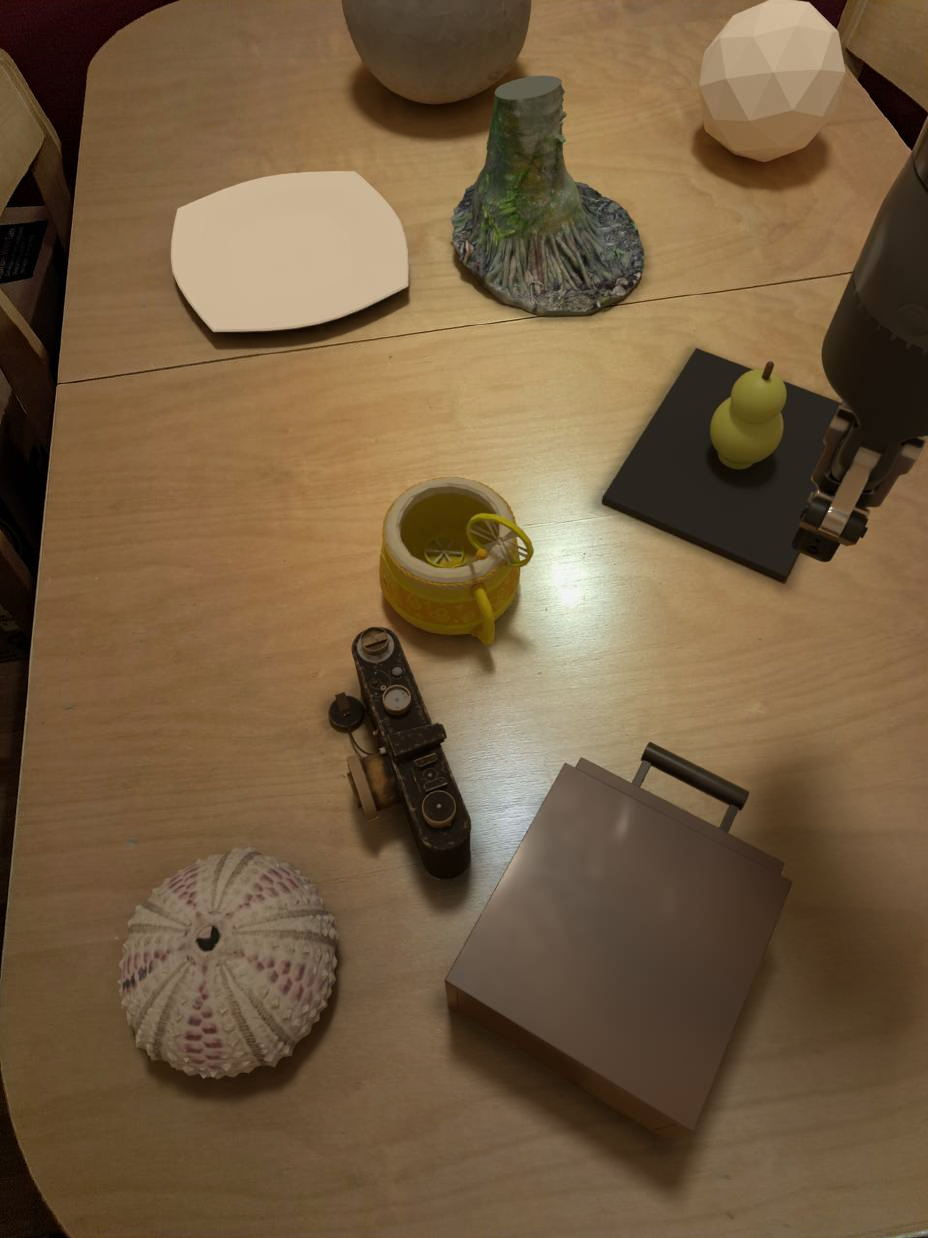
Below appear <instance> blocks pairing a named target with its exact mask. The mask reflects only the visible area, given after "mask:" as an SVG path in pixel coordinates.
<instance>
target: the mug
mask: <svg viewBox="0 0 928 1238" xmlns="http://www.w3.org/2000/svg"><path fill="white" fill-rule="evenodd" d="M514 515H515V514H514V511H512V508H511V506H510V505H509V503H508V502H507V500H505V498H504V497H503V496H501V495H500V493H498V492H497V491H495V490H494V489H493V488H491V487H490V486H488V485H486V484H484V483H483V482H480V481H477V480H473V479H468V478H465V477H457V476H440V477H436V478H432V479H428V480H425V481H424V480H423V481H422V482H419V483H417V484H413V485H412V486H410V487H408V488H406V490H405V491H403V492H402V493H401V494H400V495H398V497H397V498H396V499H394V501H393V502H392V503H391V504H390V506H389V507H388V509H387V511H386V513H385V515H384V519H383V522H382V529H381V531H382V532H381V537H382V545H381V551H380V555H379V570H378V572H379V573H378V574H379V576H378V577H379V585H380V590H381V592H382V593H381V594H382V595H383V597H384V600H386V602H387V603H389V605H390V606H391V607H392V609H393V610H394V611H395V612H396V613H397V614H399V615H400V617H401V618H403V619H404V620H405V621H406V622H408V623H410V624H411V625H412V626H414V627H416V628H418V629H420V630H422V631H425V632H428V633H430V634H431V633H432V634H438V635H446V636H458V635H470V636H472V637H475V638H476V637H477V638H478V639H479V641H480V642H481V643H482V644H483V645H485V646H486V645H492V644H493V643H494V641H495V635H496V627H495V621H497V620H498V619H499V618H501V616H502V615H503V614H504V613H505V612H506V610H507V609H508V608H509V607H510V606H511V604H512V602H513V600H514V598H515V597H516V595H517V592H518V588H519V585H520V578H521V568H522V567H525V566H527V565H528V564H529V563H530V562H531V560H532V557H533V556H534V551H535V550H534V547H533V542H532V541H531V539H530V538H529V536H528V535H527V534H526V532H525V531H524V530H523V528H521V527H520V526H519V525H517V522H516V518H515V516H514ZM518 538H519V539H520V540H521V541H522V543H523V544H524V546H525V547H523V546H520V545H519V543H518ZM520 550H521V551H523V552H525V553H523V552H521V551H520ZM520 556H521V557H522V558H524V559H521V558H520Z"/></svg>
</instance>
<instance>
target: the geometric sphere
mask: <svg viewBox="0 0 928 1238" xmlns="http://www.w3.org/2000/svg"><path fill="white" fill-rule="evenodd" d="M845 77H846V67H845V61H844V56H843V50H842V43H841V39H840V33H839V31H838V29H837V28H836V27H835V26H834V25H832V23H830V21H828V19H826V17H824V16H823V15H822V14H821V12H819V10H817V8H815V6H814V5H812V4H811V2H810V1H803V0H766V1H764V2H761V3H758V4H757V5H754V6H752V7H750V8H747V9H745V10H743V11H740V12H737V13H735V14H733V15H732V16H731V17H730V19H729V20H728V21H727V23H726V24H725V25H724V26H723V28H722V29H721V30H720V31H719V33H718V34H717V35H716V37H715V38H714V39H713V40H712V42H711V43H710V44H709V45H708V46H707V48H706V49H705V51H703V58H702V63H701V69H700V75H699V81H698V92H699V100H700V108H701V113H702V122H703V127H704V131H705V133H707V134H709V135H710V136H711V137H712V138H713V139H714V140H716V141H717V142H718V143H719V144H721V145H722V146H723V147H725V149H727V150H728V151H729V152H730V153H731V154H732V155H735V156H738V157H742V158H746V159H751V160H755V161H759V162H761V163H762V162H763V163H767V162H769V161H773V160H775V159H778V158H780V157H783V156H785V155H788V154H791V153H794V152H797V151H799V150H802V149H805V148H806V147H807V146H808V144H810V142H811V141H812V140H813V139H814V138H815V137H816V135H818V133H819V132H820V131H821V130H822V128H823V127H824V126H825V125H826V124H827V123H828V122H829V121H830V120H831V119H832V118H833V116H834V115H835V114H836V111H837V108H838V103H839V100H840V95H841V92H842V87H843V84H844V80H845Z"/></svg>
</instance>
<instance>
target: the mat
mask: <svg viewBox="0 0 928 1238" xmlns="http://www.w3.org/2000/svg"><path fill="white" fill-rule="evenodd" d="M751 370H754V369H753V368H751V367H748V366H745V365H743V364H740V363H737V362H735V361H732V360H729V359H727V358H724V357H721V356H718V355H716V354H714V353H712V352H708V351H705V350H703V349H700V348H698V347H696V348H695V349H694V351H693V352H692V354H691V355H690V357H689V359H688V360H687V361H686V363H685V365H684V366H683V368H682V370H681V371H680V373H679V374H678V376H677V377H676V379H675V381H674V382H673V384H672V386H671V388H670V389H669V390H668V392H667V393H666V395H665V396H664V397H663V400H662V402H661V403H660V405H659V407H658V408H657V409H656V411H655V413H654V414H653V416H652V417H651V419H650V421H649V422H648V424H647V425H646V427H645V428H644V430H643V432H642V434H641V435H640V436H639V438H638V440H637V441H636V443H635V445H634V446H633V448H632V449H631V451H630V453H629V454H628V455H627V457H626V459H625V461H624V462H623V464H622V465H621V467H620V468H619V469H618V472H617V473H616V475H615V476H614V478H613V480H612V481H611V483H610V484H609V486H608V487H607V489H606V491H605V492H604V493H603V495H602V498H601V503H602V504H604V505H607V506H609V507H610V508H611V507H612V508H613V509H617V510H618V511H621V512H622V513H626V514H627V515H630V516H632V517H635V518H637V519H639V520H641V521H642V522H643V521H644V522H646V523H648V524H651V525H653V526H655V527H658V528H659V529H662V530H664V531H666V532H668V533H671V534H673V535H675V536H678V537H680V538H683V539H684V540H687V541H689V542H692V543H694V544H696V545H699V546H701V547H703V548H706V549H707V550H710V551H711V552H715V553H716V554H719V555H721V556H723V557H726V558H728V559H731V560H733V561H734V562H738V563H740V564H741V565H744V566H747V567H749V568H752V569H754V570H756V571H758V572H760V573H763V574H765V575H767V576H769V577H772V578H774V579H776V580H779V581H780V582H785V581H786V579H787V577H788V575H789V574H790V571H791V569H792V567H793V565H794V562H795V561H796V558H797V556H798V554H799V552H797V551H796V550H794V549H793V548H792V546H791V543H792V541H793V539H794V537H795V534H796V532H797V530H798V528H799V524H800V522H801V520H802V519H799V517H800V515H801V513H802V511H803V509H805V507H806V505H807V503H810V502H808V501H807V500H808V498H809V496H810V494H811V492H813V493H815V491H816V489H817V486H816V485H815V484H814V483H813V482H812V480H811V476H812V474H813V472H814V470H815V468H816V466H817V464H818V461H819V459H820V457H821V455H822V453H823V451H824V449H825V444H824V442H823V439H824V436H825V434H826V432H827V430H828V428H829V426H830V424H831V422H832V420H833V418H834V416H835V414H836V412H837V410H838V408H839V406H840V405H841V402H840V401H838V400H835V399H832V398H829V397H827V396H824V395H822V394H819V393H816V392H813V391H811V390H808V389H806V388H804V387H800V386H799V385H795V384H792V383H790V382H787V381H784V380H782V381H783V382H784V384H785V387H786V394H787V395H786V402H785V405H784V407H783V409H782V410H781V415H782V418H783V425H784V428H783V435H782V438H781V441H780V443H779V445H778V446H777V448H776V449H775V450H774V452H773V453H772V454H770V455H769V456H768V457H767V458H765V459H763V460H761V461H759V462H756V463H753V464H752V465H751V466H750V467H748V468H745V469H733V468H730V467H728V466H726V465H724V464H723V463H722V462H721V461H720V459H719V457H718V452H717V450H716V449H715V447H714V446H713V443H712V441H711V436H710V424H711V420H712V417H713V415H714V413H715V411H716V410H717V408H718V407H719V406H720V405H721V404H722V403H723V402H724V401H725V400H727V399H728V398H730V397H731V392H732V389H733V386H734V384H735V383H736V381H737V380H738V379H739V378H740V377H741V376H742V375H743V374H745V373H747V372H749V371H751Z"/></svg>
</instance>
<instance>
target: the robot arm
mask: <svg viewBox="0 0 928 1238" xmlns="http://www.w3.org/2000/svg"><path fill="white" fill-rule="evenodd" d="M821 345H822V346H821V354H820V355H821V365H822V369H823V373H824V375H825V377H826V380H827V381H828V383H829V385H830V387H831V388H832V390H833V391H834V392H835V394H836V395H837V396H838V397H839V398H840V399H841V402H840V403H841V405H840V406H839V408H838V410H837V412H836V414H835V416H834V418H833V420H832V422H831V424H830V426H829V428H828V430H827V432H826V434H825V436H824V439H823V442H824V444H825V449H824V451H823V453H822V455H821V457H820V459H819V461H818V464H817V466H816V468H815V470H814V472H813V474H812V476H811V480H812V482H813V483H814V484H815V485H816V486H817V489H816V491H815V493H813V492H811V494H810V496H809V498H808V500H807V501H808V502H810V503H807V505H806V507H805V509H803V511H802V513H801V515H800V517H799V519H802V520H801V522H800V524H799V528H798V530H797V532H796V534H795V537H794V539H793V541H792V543H791V546H792V548H793V549H794V550H796V551H797V552H798V554H802V555H805V556H806V557H809V558H811V559H813V560H816V561H819V562H820V563H828V562H831V561H832V559H833V558H834V556H835V554H836V553H837V551H838V549H839V548H840V546H841V545H843V546H845V547H850V546H854V545H855V546H856V544H857V543H858V542H859V540H860V539H864V537H865V535H866V534H867V531H868V529H869V527H867V524H868V522H869V518H868V517H869V516H870V513H871V509H869V508H878V507H880V506H882V504H883V503H884V501H885V499H886V498H887V497H888V495H889V494H890V492H891V490H892V489H893V487H894V486H895V484H896V483H897V481H898V479H899V478H900V476H904V475H907V474H908V473H909V472H910V471H911V470H912V468H913V466H914V465H915V464H916V462H917V460H918V459H919V457H920V455H921V453H922V451H923V450H924V448H925V445H926V443H927V441H928V438H927V437H928V115H927V117H926V119H925V121H924V122H923V126H922V128H921V130H920V133H919V135H918V137H917V139H916V141H915V144H914V146H913V148H912V150H911V152H910V154H909V156H908V157H907V159H906V161H905V163H904V165H903V166H902V168H901V169H900V172H899V173H898V175H897V176H896V177H895V179H894V181H893V183H892V184H891V186H890V188H889V189H888V192H887V193H886V195H885V197H884V199H883V201H882V203H881V205H880V207H879V208H878V211H877V213H876V216H875V218H874V220H873V222H872V225H871V227H870V230H869V231H868V235H867V237H866V239H865V242H864V244H863V247H862V248H861V251H860V253H859V256H858V258H857V261H856V263H855V264H854V267H853V270H852V272H851V274H850V277H849V278H848V281H847V284H846V286H845V288H844V290H843V293H842V295H841V298H840V300H839V303H838V304H837V307H836V310H835V312H834V314H833V316H832V318H831V321H830V324H829V326H828V328H827V331H826V333H825V335H824V337H823V342H822V344H821Z"/></svg>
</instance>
